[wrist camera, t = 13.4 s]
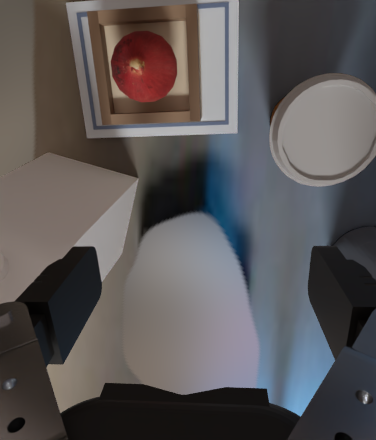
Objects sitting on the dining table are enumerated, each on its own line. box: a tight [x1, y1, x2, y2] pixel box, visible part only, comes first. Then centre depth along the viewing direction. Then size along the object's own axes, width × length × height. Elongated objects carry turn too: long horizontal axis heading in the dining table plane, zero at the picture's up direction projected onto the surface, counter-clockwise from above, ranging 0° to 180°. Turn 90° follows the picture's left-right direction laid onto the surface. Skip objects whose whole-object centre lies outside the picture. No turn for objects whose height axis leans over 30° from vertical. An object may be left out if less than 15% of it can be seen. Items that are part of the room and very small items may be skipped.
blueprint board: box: [66, 0, 239, 138], centre depth 37 cm, size 18×14×1 cm
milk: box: [0, 152, 139, 304], centre depth 33 cm, size 12×12×26 cm
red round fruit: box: [111, 31, 177, 102], centre depth 29 cm, size 6×6×8 cm
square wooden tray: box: [87, 4, 202, 125], centre depth 34 cm, size 10×10×6 cm
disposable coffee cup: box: [269, 73, 376, 187], centre depth 33 cm, size 10×10×12 cm
